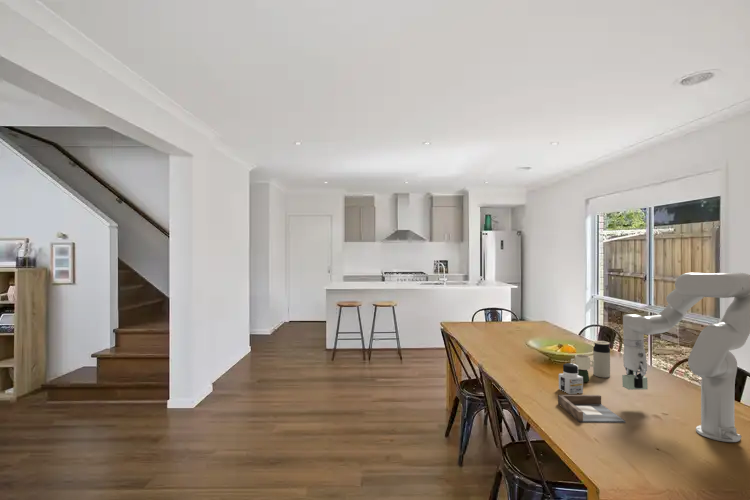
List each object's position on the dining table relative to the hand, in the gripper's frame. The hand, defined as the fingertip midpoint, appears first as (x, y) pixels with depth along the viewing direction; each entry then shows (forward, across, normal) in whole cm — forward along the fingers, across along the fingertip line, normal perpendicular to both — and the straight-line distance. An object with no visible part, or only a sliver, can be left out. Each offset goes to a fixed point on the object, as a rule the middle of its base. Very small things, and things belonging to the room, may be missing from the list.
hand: (634, 385), depth 183 cm
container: (+9, +21, +18) cm, 29 cm away
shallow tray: (+9, -6, +22) cm, 25 cm away
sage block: (+1, 0, 0) cm, 1 cm away
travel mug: (+8, +47, -10) cm, 49 cm away
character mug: (+9, +37, +5) cm, 38 cm away
